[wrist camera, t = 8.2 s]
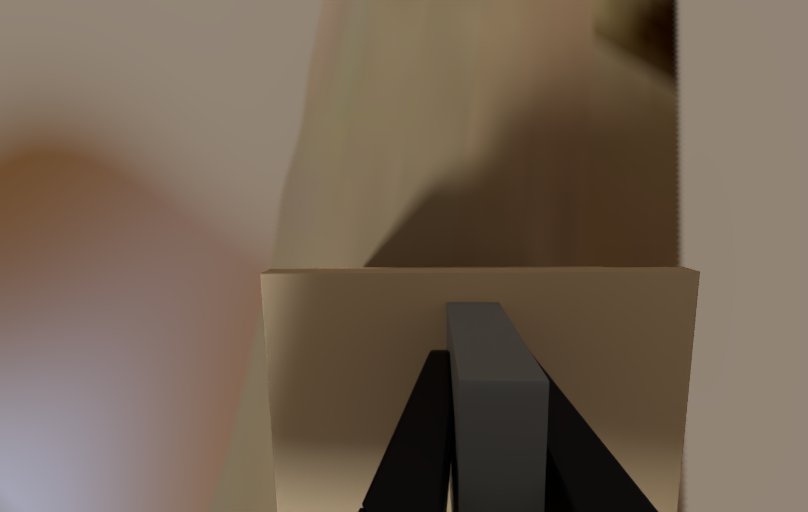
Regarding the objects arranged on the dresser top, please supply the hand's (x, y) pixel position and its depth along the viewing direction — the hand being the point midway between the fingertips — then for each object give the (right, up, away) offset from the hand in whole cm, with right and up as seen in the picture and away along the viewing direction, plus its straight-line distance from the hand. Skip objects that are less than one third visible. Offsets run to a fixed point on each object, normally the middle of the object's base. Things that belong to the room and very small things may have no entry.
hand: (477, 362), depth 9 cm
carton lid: (0, -5, +2) cm, 6 cm away
